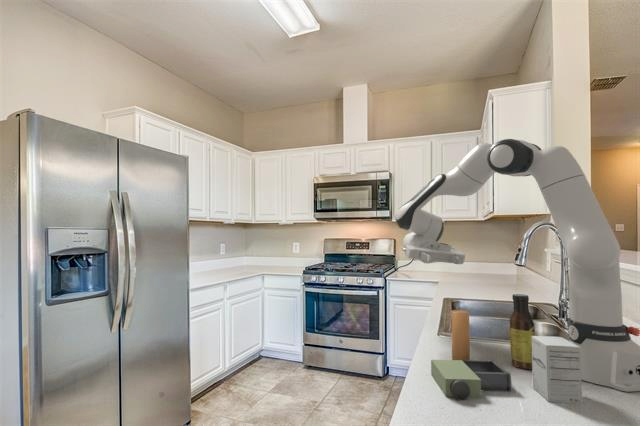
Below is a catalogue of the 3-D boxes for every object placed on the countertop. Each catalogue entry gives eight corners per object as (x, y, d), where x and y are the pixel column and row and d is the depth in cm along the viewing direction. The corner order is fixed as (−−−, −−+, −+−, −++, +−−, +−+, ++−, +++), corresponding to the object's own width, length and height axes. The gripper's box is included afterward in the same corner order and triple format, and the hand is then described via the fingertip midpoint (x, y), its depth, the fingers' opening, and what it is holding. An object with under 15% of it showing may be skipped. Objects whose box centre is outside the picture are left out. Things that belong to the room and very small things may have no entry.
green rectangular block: (461, 375, 91) (461, 360, 91) (483, 400, 77) (483, 382, 78) (431, 374, 91) (431, 359, 91) (447, 399, 78) (447, 381, 78)
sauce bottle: (540, 371, 94) (538, 297, 95) (515, 369, 95) (513, 296, 96) (530, 362, 100) (528, 293, 102) (507, 360, 102) (505, 292, 103)
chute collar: (494, 375, 91) (493, 360, 91) (511, 391, 82) (510, 374, 82) (461, 374, 91) (461, 359, 92) (474, 390, 82) (474, 373, 83)
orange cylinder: (466, 356, 105) (465, 309, 106) (472, 362, 100) (471, 313, 101) (449, 356, 105) (448, 309, 106) (455, 362, 100) (454, 313, 101)
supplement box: (531, 387, 84) (530, 335, 85) (564, 389, 83) (563, 336, 84) (547, 402, 77) (545, 344, 78) (583, 404, 76) (581, 346, 77)
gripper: (401, 239, 124) (416, 247, 111) (454, 245, 127) (474, 254, 113) (398, 256, 125) (413, 266, 111) (451, 261, 128) (471, 272, 114)
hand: (444, 260), depth 112 cm, fingers open, 8 cm apart
